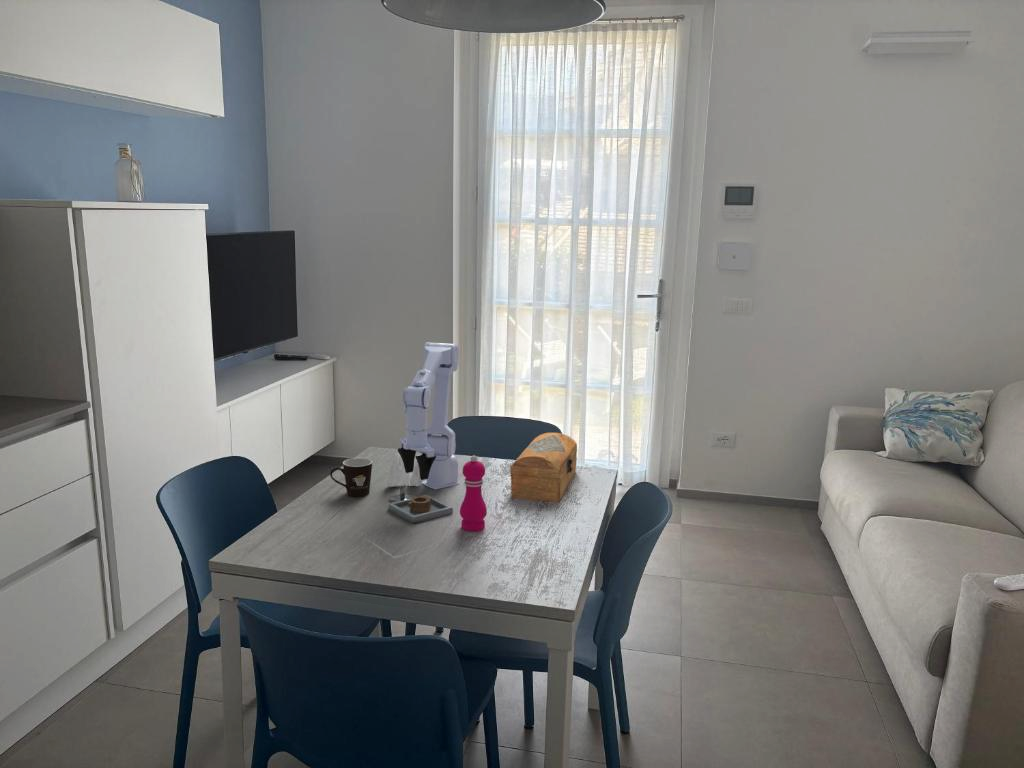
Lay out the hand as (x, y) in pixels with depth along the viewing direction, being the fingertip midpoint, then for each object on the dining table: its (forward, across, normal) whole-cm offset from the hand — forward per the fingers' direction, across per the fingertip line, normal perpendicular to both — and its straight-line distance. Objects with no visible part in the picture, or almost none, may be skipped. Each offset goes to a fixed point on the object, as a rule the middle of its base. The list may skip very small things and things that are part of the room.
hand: (416, 475), depth 222 cm
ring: (+9, +3, -1) cm, 10 cm away
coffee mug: (+10, -21, -8) cm, 25 cm away
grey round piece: (+10, -8, 0) cm, 13 cm away
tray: (+10, +3, -1) cm, 10 cm away
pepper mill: (+10, +21, +4) cm, 23 cm away
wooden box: (+10, +7, +44) cm, 45 cm away
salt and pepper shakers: (+10, -18, +8) cm, 22 cm away
